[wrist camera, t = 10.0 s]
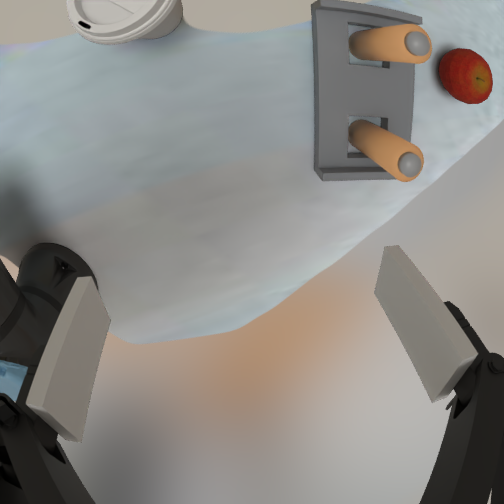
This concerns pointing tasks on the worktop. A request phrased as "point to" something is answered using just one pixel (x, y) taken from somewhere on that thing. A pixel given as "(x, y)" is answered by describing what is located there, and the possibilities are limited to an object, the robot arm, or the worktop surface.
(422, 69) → the worktop surface
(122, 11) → the coffee cup
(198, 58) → the worktop surface
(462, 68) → the apple
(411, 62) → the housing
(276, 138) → the worktop surface
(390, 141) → the peg
